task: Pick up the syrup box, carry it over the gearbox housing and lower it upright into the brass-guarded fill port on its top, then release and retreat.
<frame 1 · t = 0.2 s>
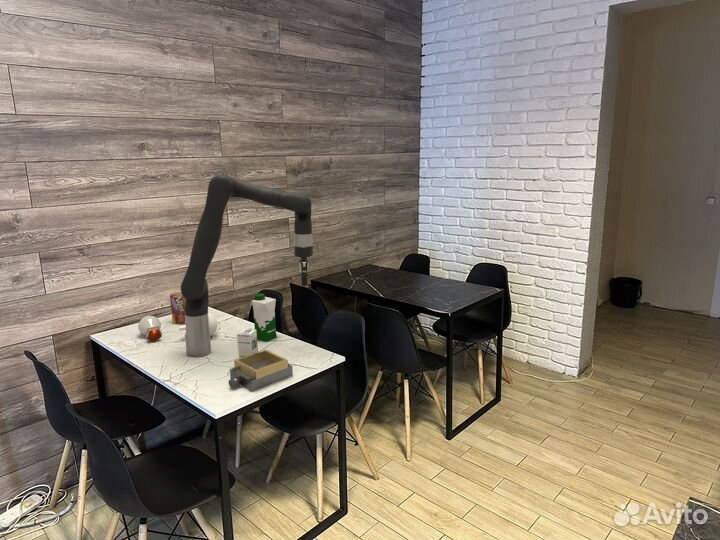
hand: (304, 283, 206), 29 cm above the table, fingers open, 8 cm apart
syrup box: (249, 366, 196), on the table
potion bottle: (152, 337, 226), on the table
candy box: (182, 323, 244), on the table
gearbox housing: (261, 377, 186), on the table
piggy bank: (200, 336, 227), on the table
milk carton: (265, 338, 225), on the table
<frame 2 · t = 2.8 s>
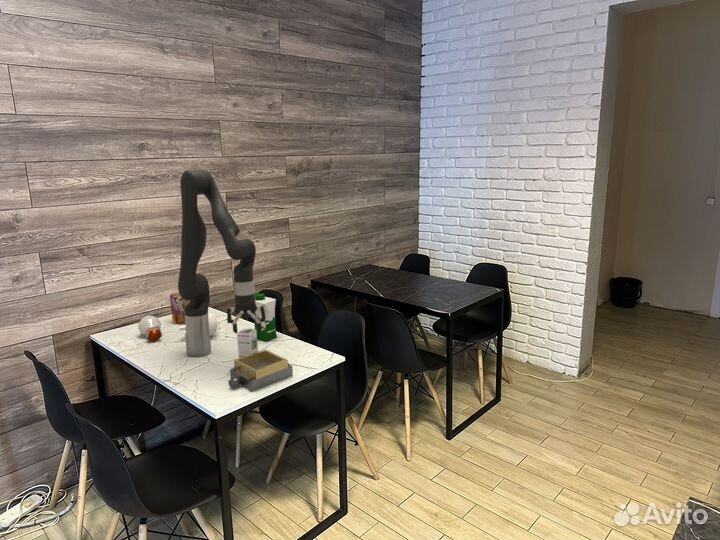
hand: (247, 332, 193), 14 cm above the table, fingers open, 8 cm apart
nothing on the table moved.
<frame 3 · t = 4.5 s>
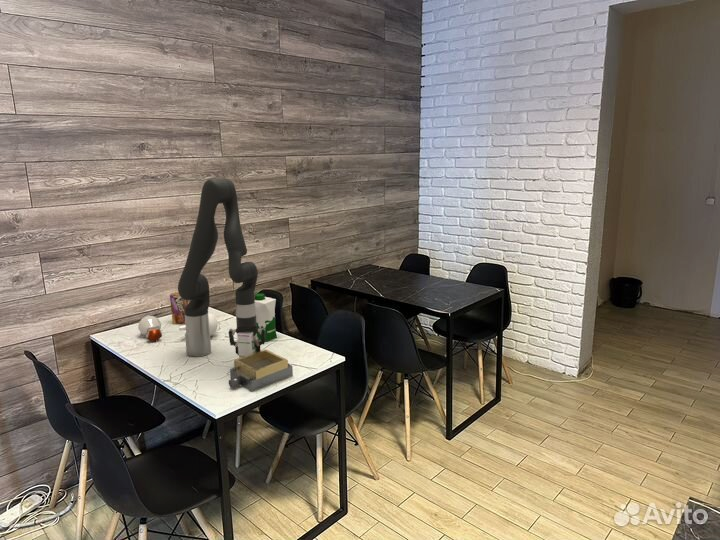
hand: (248, 354, 195), 5 cm above the table, fingers closed on syrup box, 6 cm apart
syrup box: (249, 366, 196), on the table, touching gripper
everything else where it was.
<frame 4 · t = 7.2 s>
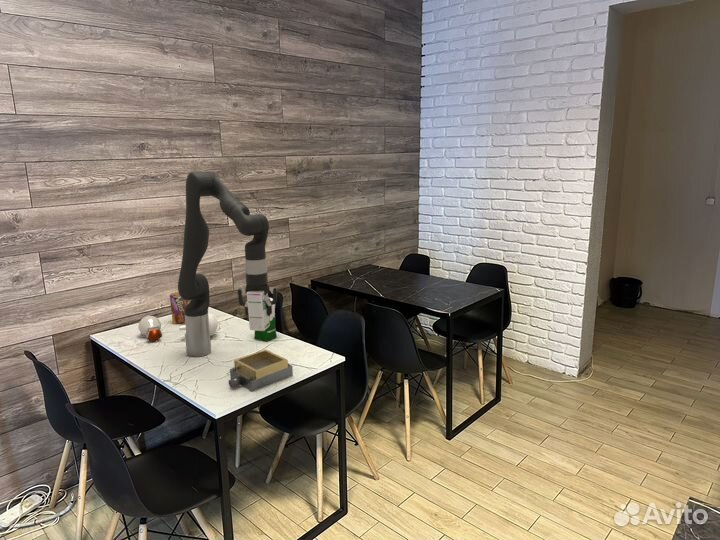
hand: (259, 315, 181), 24 cm above the table, fingers closed on syrup box, 6 cm apart
syrup box: (259, 328, 182), point 19 cm above the table, touching gripper
everything else where it was.
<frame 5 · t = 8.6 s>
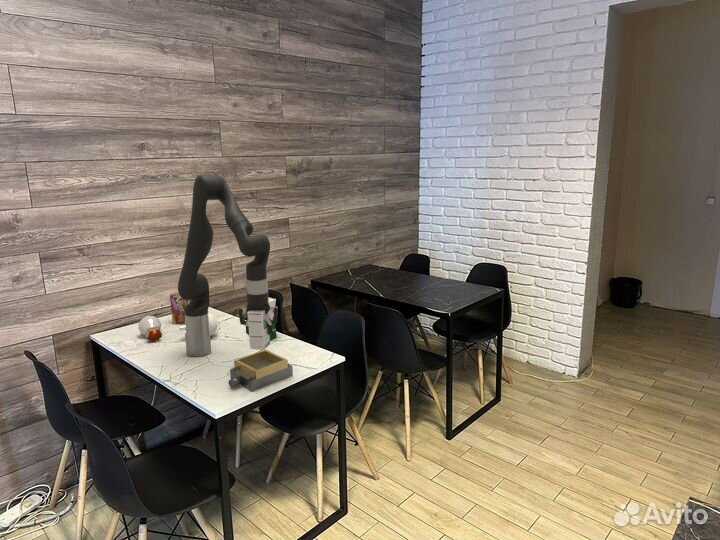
hand: (259, 334, 182), 17 cm above the table, fingers closed on syrup box, 6 cm apart
syrup box: (260, 347, 184), point 12 cm above the table, touching gripper
everything else where it was.
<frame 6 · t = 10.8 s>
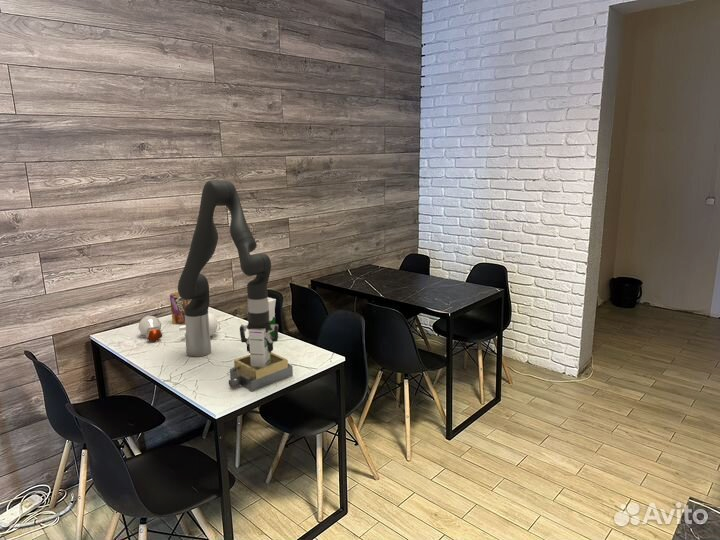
hand: (260, 351, 184), 10 cm above the table, fingers closed on syrup box, 6 cm apart
syrup box: (260, 364, 185), point 5 cm above the table, touching gripper
everything else where it was.
when the fingers open (10 cm above the table, at t = 10.8 s): syrup box drops 1 cm, resting on gearbox housing.
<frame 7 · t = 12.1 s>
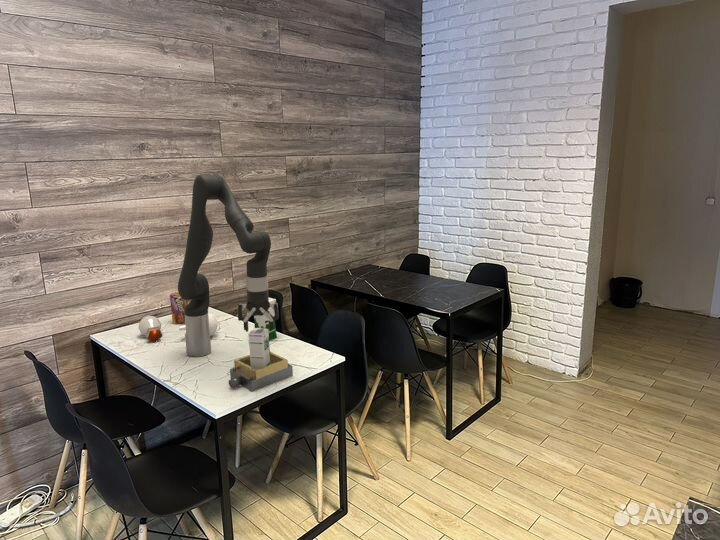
hand: (259, 330, 182), 18 cm above the table, fingers open, 8 cm apart
syrup box: (260, 367, 185), point 4 cm above the table, touching gearbox housing
everything else where it was.
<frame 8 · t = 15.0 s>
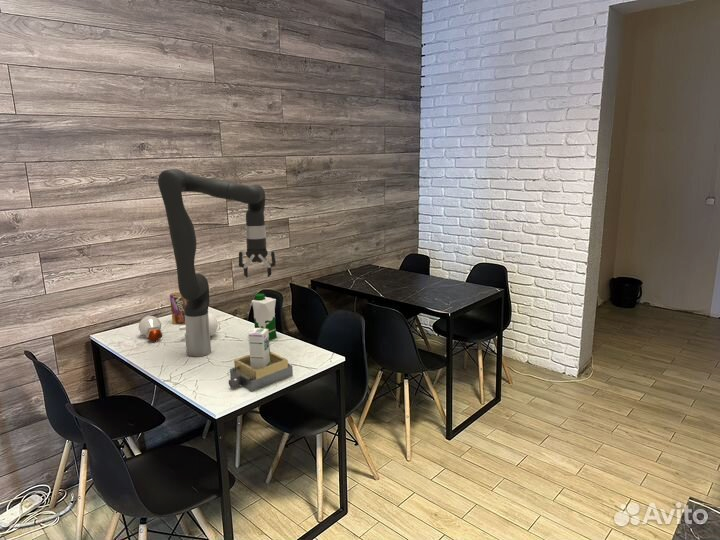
hand: (258, 276, 199), 33 cm above the table, fingers open, 8 cm apart
nothing on the table moved.
at the end: syrup box inside the target area on the gearbox housing (0.3 cm from its centre), point 3.8 cm above the gearbox housing's base; syrup box tilted 0°; the gripper is holding nothing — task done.
